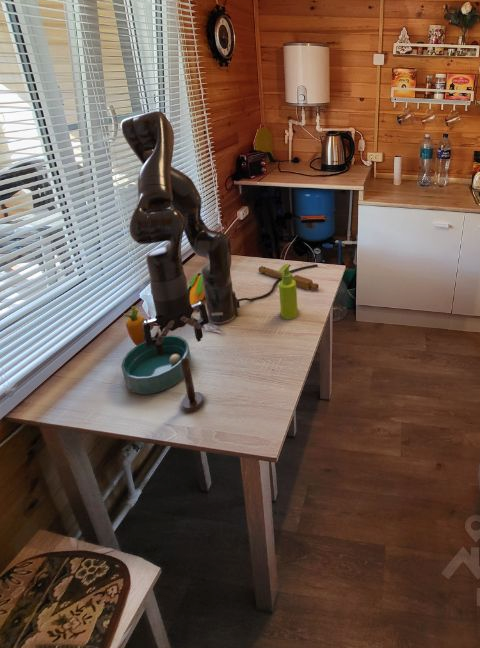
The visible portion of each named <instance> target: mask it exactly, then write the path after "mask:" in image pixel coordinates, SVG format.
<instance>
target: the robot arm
mask: <svg viewBox="0 0 480 648" xmlns="http://www.w3.org/2000/svg"><path fill="white" fill-rule="evenodd" d="M120 130H121V133H122V135H123V137H124V139H125V141H126V143H127V144H128V146H129V147H130V149H131V150H132V152H133V153H134V154H135V156H136V157H137V159H138V160H139V161H140V162H141V164H142V167H141V169H140V171H139V173H138V177H137V201H136V205H135V207H134V210H133V212H132V215H131V218H130V222H129V229H128V231H129V234H130V237H131V239H132V240H133V241H134V242H135V243H137V244H139V245H151V244H157V243H164V242H167V244H164V245H163V246H159V247H158V248H155V249H153V250H151V251H150V252H148V254H147V255H146V265H147V266H146V267H147V270H148V275H149V281H150V282H149V283H150V284H149V285H150V294H151V296H152V300H153V301H152V302H153V305H154V310H155V316H154V318H152V319H147V318H144V320H142V328H143V335H144V340H145V343H146V345H147V346H151V345H155V349H156V352H157V354H158V355H161V357H162V356H164V350H163V345H162V340H163V339H164V337H166V336H168V334H169V332H170V331H171V332H173V331H175V330H177V329H180V328H183V327H185V326H186V325H189V326H190V327H193V330H194V337H195V339H196V341H197V342H201V341H202V339H203V337H204V334H203V327H204V326H203V325H204V324H208V323H212V324H214V325H224V324H227V323H230V322H231V321H233V320H235V318H236V317H237V316H239V313H238V308H241V305H240V304H241V303H240V302H242V301H249V302H251V301H257V300H260V299H264V298H265V297H267V296H270V294H272V293H273V291H274V290H275V288H276V286H277V284H279V282H280V281H281V279H280V278H278V279H276V281H275V282H274V283H273V285H272V288H271V289H270V291H268V292H267V293H265V294H263V295H260V296H256V297H252V298H249V297H243V298H237V296H236V292H235V291H234V290H233V289H234V288H233V282H232V274H231V267H232V248H231V241H230V238H229V236H228V235H227V234H226V233H224V232H221V231H217V230H212V229H210V228H208V226H207V225H206V223H205V222H204V220H203V218H202V215H201V213H202V212H201V211H202V206H203V205H202V197H201V194H200V192H199V190H198V188H197V186H196V185H195V183H194V181H193V180H192V178H190V177H189V176H188V175H187V174H185V173H184V172H183V171H180V170H178V169H177V168H175V167H173V166H172V162H173V155H174V147H175V146H174V145H175V134H174V133H175V132H174V129H173V126H172V123H171V121H170V120H169V118H168V117H167V115H166V114H165V113H164V112H162V111H159V110H156V111H155V110H154V111H149V112H145V113H142V114H138V115H134V116H130V117H127V118H124V119H123V120H122V121H121V122H120ZM184 234H185V237H186V239H187V241H188V244H189V246H190V248H191V250H192V251H193V253H194V254H195V255H197V256H199V257H202V258H205V259H208V261H209V262H208V263H207V264H205V265H204V266H203V267H202V268H201V272H200V273H201V274H202V280H203V286H204V293H205V296H204V300H205V303H204V302H203V300H199V301H198V302H197V304H194V305H191V304H190V298H189V292H188V288H189V285H188V281H187V277H186V274H185V271H184V265H183V259H182V242H183V236H184ZM315 267H318V264H312V265H305V266H301V267H298V268H294V269H291V270H289V272H290V273H291V274H292V273H293V272H297V271H299V270H304V269H309V268H315ZM194 311H196V312H197V313H199V316H200V318H199V319H197V318H195V317H194V316H193V313H194ZM155 325H156V326H157V325H158V326H157V328H156V332H155V334H154V335H153V336H152V330H153V329H154V326H155Z"/></svg>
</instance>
